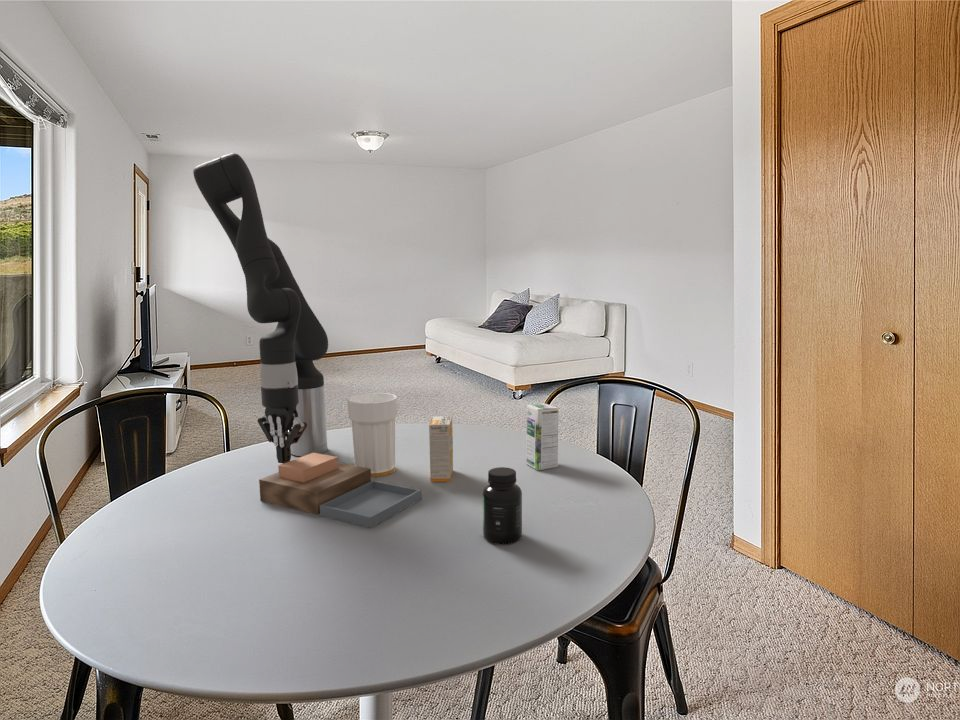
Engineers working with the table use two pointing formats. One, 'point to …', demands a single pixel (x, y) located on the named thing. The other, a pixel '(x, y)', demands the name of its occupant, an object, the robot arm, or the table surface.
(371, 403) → the cup
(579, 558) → the table surface
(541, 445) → the syrup box
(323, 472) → the terracotta tile
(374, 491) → the slate tray
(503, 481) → the supplement bottle
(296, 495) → the walnut platform
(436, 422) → the supplement box
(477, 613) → the table surface
